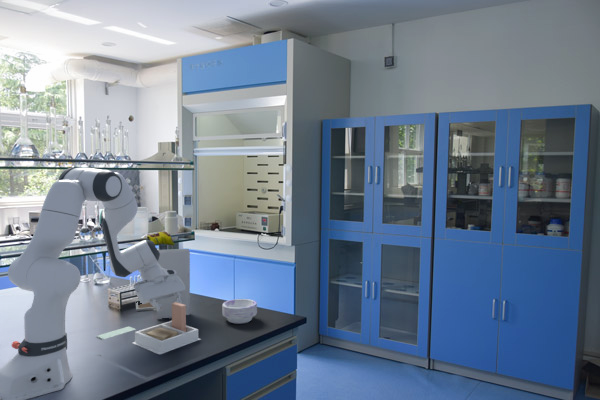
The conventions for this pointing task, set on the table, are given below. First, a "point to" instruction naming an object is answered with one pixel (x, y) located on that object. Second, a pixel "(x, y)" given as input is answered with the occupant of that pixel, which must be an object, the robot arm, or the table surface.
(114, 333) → the sage mat
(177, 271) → the brochure
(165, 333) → the offcut upper
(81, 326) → the table surface
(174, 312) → the terracotta board
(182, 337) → the white divided tray
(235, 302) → the paper bowls
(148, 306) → the clipboard
